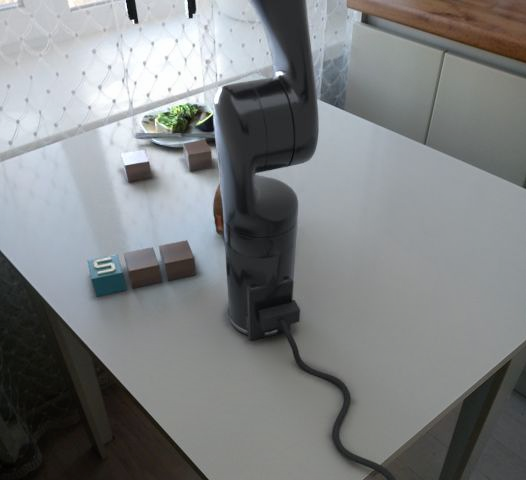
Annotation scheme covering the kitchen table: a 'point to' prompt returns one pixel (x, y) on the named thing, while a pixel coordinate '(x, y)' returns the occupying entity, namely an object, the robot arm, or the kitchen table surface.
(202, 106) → the salad plate
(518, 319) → the kitchen table surface
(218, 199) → the tin
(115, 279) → the letter S
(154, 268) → the brown wooden block pair
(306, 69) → the robot arm
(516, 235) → the kitchen table surface
